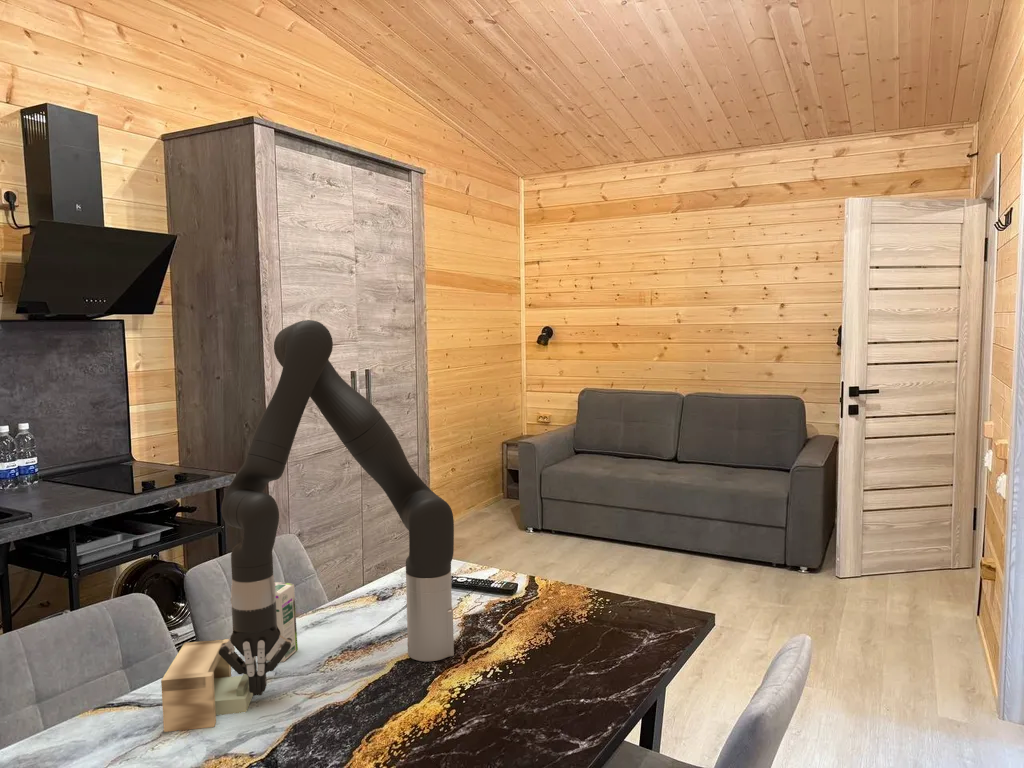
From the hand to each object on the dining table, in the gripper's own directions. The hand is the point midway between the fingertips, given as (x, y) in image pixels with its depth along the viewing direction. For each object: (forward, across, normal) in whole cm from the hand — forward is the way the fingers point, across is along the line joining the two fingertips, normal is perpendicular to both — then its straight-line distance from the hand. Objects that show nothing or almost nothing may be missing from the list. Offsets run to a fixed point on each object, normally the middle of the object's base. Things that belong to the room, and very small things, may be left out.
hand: (258, 693), depth 135 cm
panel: (+2, +7, -1) cm, 7 cm away
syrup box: (+2, -1, -19) cm, 19 cm away
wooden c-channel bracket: (+2, +10, 0) cm, 10 cm away
